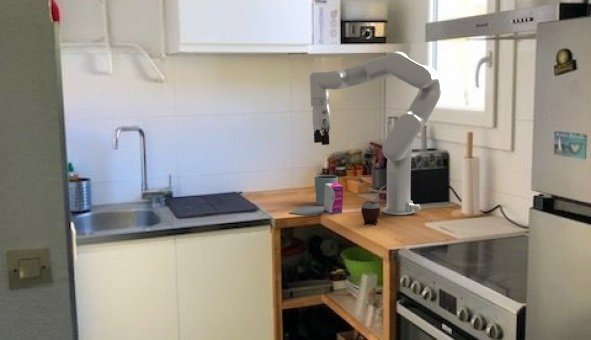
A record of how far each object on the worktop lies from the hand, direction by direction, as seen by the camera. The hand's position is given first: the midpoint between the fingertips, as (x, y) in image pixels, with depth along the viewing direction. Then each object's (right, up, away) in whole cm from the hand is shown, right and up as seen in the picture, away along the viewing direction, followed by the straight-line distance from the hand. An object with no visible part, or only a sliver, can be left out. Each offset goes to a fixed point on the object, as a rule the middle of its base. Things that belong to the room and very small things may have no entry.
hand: (321, 143), depth 270 cm
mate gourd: (+18, -31, -24) cm, 44 cm away
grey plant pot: (+3, -26, +13) cm, 29 cm away
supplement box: (+5, -28, -4) cm, 29 cm away
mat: (-5, -28, -1) cm, 28 cm away
